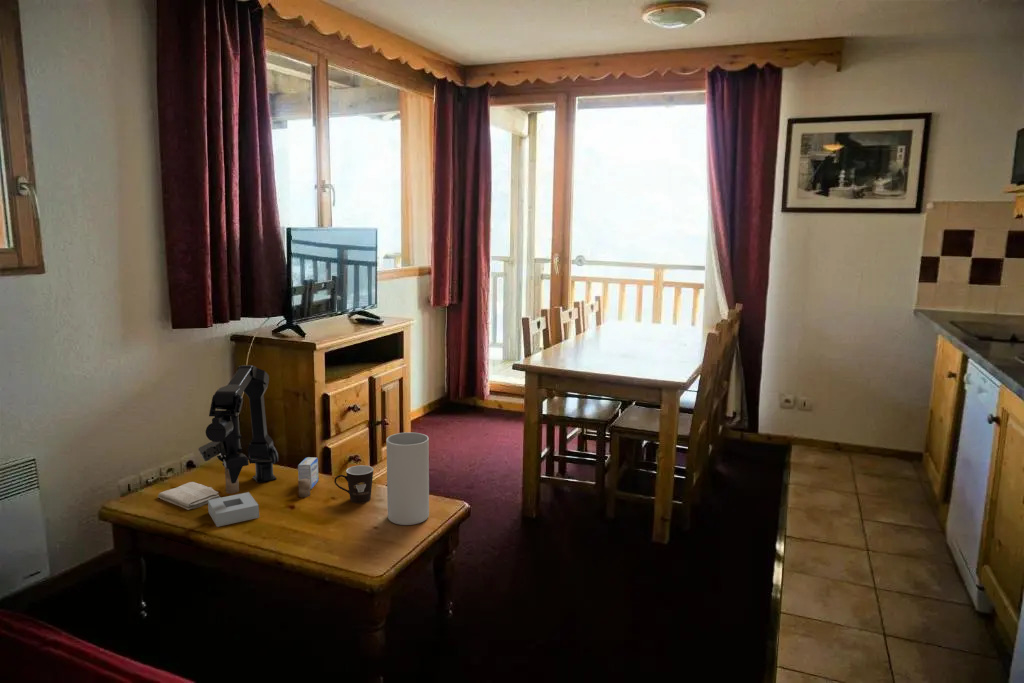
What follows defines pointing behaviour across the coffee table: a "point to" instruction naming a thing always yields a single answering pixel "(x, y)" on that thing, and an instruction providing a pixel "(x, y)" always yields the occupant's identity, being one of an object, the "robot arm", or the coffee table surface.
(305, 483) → the short dowel
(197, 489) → the washcloth
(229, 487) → the long dowel
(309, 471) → the medicine box
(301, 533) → the coffee table surface
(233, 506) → the socket block
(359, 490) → the coffee mug
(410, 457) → the cylinder vase
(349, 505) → the coffee table surface
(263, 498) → the coffee table surface
